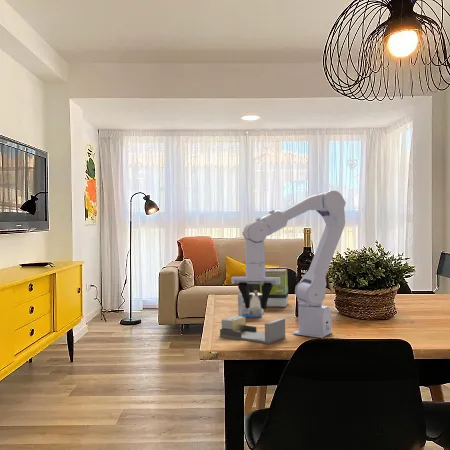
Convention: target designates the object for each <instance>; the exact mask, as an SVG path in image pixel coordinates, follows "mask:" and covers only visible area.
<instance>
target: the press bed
mask: <svg viewBox="0 0 450 450" xmlns="http://www.w3.org/2000/svg"><path fill="white" fill-rule="evenodd" d="M219 337H223V338H228V339H235V340H241V341H248V342H254V343H260V344H267V345H272V344H274V343H276V342H279V341H281V340H283V339H286V318H282V317H279V318H277V319H274V320H272V321H269V322H266V323H264V332H263V331H257V326H254V325H246V330H244V331H241V332H239V331H232V330H225V329H222V328H220V329H219Z"/></svg>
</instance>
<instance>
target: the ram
mask: <svg viewBox="0 0 450 450" xmlns="http://www.w3.org/2000/svg"><path fill="white" fill-rule="evenodd" d="M246 319H247V318H245V317H242V316H238V315H233V316H228V317H226V318H223V319H221V329H225V330H232V331H239V332H241V331H244V330H246Z"/></svg>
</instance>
